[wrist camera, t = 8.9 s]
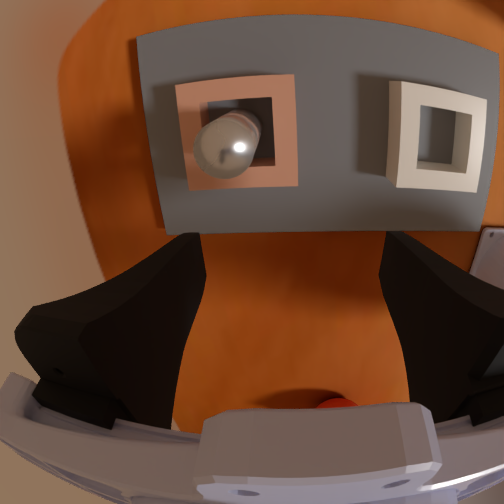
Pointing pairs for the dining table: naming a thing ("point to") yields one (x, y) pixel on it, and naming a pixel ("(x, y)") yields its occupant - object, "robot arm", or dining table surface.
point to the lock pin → (228, 143)
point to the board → (318, 122)
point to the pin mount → (407, 138)
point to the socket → (276, 86)
